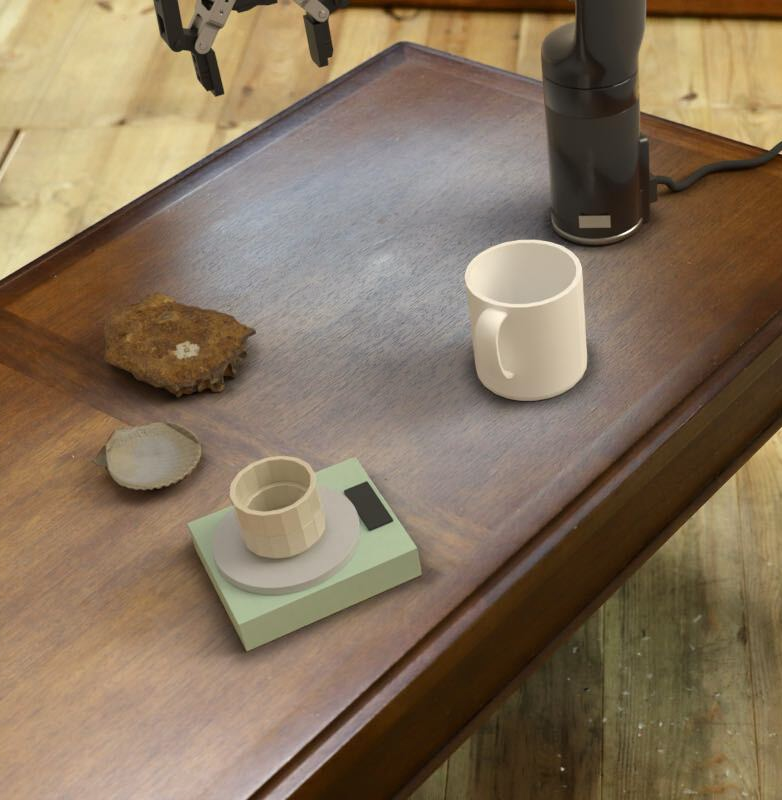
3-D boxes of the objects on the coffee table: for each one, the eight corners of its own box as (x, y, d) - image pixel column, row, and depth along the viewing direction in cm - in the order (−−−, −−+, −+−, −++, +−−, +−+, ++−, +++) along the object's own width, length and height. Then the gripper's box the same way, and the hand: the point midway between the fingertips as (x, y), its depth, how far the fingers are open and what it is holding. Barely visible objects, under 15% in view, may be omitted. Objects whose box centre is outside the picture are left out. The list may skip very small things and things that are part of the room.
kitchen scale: (360, 483, 113) (353, 448, 111) (422, 574, 105) (415, 540, 103) (195, 550, 108) (184, 515, 105) (246, 652, 100) (235, 617, 97)
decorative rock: (71, 372, 126) (198, 423, 121) (57, 339, 123) (187, 389, 118) (154, 300, 133) (278, 345, 128) (143, 267, 131) (269, 311, 125)
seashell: (177, 519, 113) (221, 441, 117) (169, 501, 111) (215, 422, 115) (86, 490, 114) (133, 414, 118) (76, 471, 112) (125, 394, 116)
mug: (508, 322, 129) (498, 230, 122) (605, 347, 126) (601, 253, 119) (441, 403, 120) (427, 309, 114) (544, 432, 117) (536, 336, 110)
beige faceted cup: (309, 492, 107) (297, 445, 104) (339, 541, 103) (328, 493, 100) (232, 523, 105) (218, 475, 101) (260, 575, 100) (246, 526, 97)
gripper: (140, -94, 92) (196, 122, 103) (339, -139, 97) (372, 71, 108) (110, -126, 97) (166, 83, 108) (300, -167, 102) (336, 36, 113)
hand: (269, 77), depth 108 cm, fingers open, 8 cm apart
